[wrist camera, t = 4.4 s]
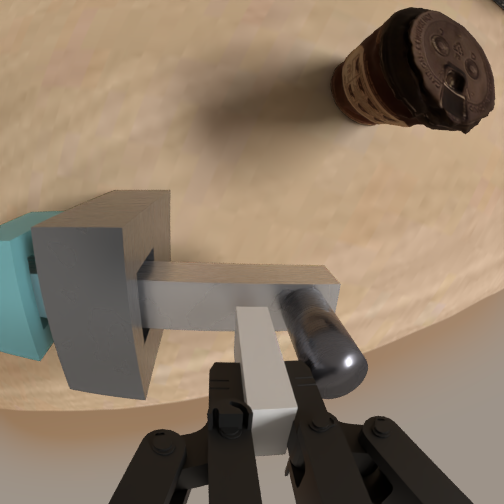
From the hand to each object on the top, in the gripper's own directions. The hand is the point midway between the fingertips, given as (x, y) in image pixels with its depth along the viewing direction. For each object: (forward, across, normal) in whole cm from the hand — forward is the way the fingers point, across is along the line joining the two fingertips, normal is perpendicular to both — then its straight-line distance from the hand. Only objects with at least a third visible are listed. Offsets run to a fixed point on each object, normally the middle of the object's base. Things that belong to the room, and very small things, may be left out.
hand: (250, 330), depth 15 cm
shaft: (+5, -8, 0) cm, 9 cm away
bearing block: (+13, -8, 0) cm, 15 cm away
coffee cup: (+13, +10, +15) cm, 22 cm away
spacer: (+9, -15, 0) cm, 18 cm away
